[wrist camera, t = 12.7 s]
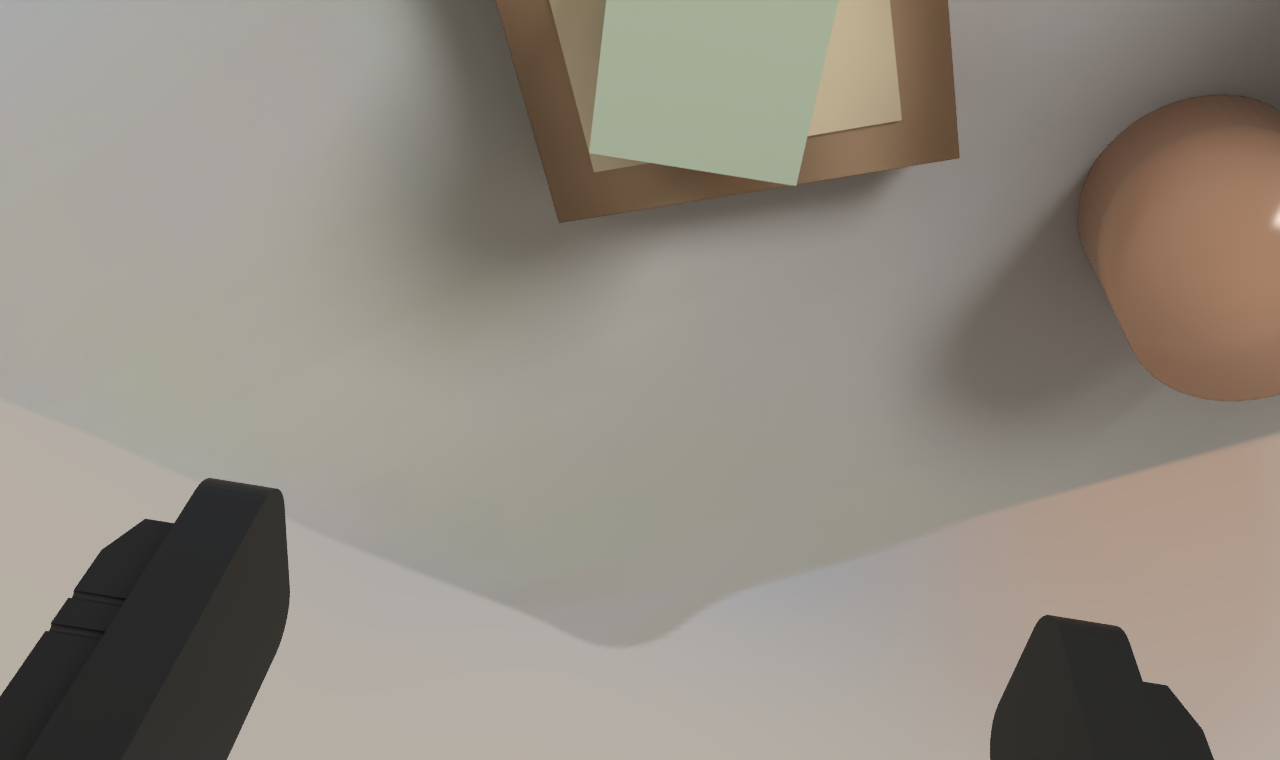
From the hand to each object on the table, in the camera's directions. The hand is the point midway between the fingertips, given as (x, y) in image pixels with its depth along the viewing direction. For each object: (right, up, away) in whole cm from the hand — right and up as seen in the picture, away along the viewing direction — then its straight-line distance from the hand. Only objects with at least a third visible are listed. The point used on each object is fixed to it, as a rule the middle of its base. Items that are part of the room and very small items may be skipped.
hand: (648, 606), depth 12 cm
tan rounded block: (+17, +8, +24) cm, 31 cm away
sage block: (+2, +13, +19) cm, 23 cm away
